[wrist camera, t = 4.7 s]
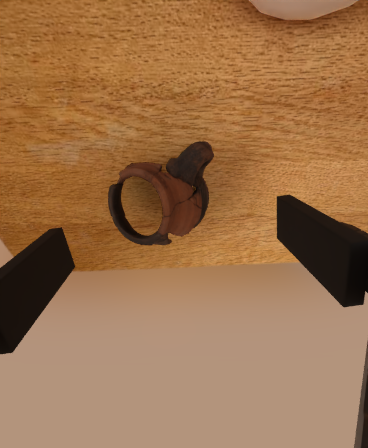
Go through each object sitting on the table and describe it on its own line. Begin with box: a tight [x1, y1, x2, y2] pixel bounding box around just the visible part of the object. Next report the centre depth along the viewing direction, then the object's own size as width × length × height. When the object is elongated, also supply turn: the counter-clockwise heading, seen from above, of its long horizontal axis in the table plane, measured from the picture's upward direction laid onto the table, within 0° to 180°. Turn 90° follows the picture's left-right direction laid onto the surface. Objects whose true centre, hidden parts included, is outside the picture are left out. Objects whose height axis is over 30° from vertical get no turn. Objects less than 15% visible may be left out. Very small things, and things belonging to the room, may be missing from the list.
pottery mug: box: [108, 142, 214, 245], centre depth 25 cm, size 12×10×8 cm
